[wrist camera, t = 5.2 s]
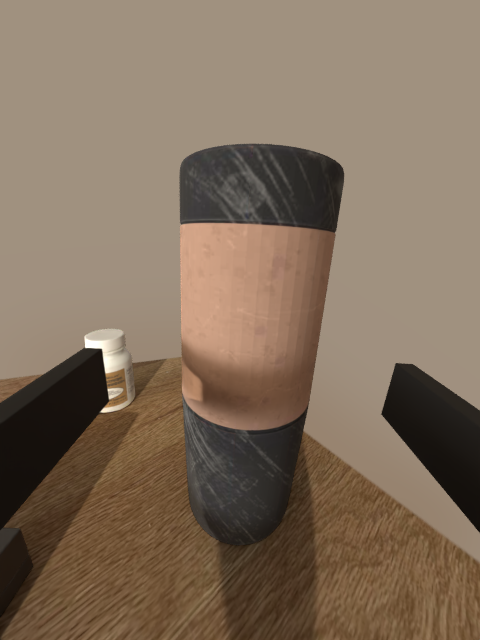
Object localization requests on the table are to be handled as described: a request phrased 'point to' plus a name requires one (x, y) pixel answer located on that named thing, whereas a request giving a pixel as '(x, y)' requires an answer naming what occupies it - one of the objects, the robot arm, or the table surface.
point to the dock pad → (12, 564)
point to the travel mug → (251, 324)
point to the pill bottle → (114, 366)
